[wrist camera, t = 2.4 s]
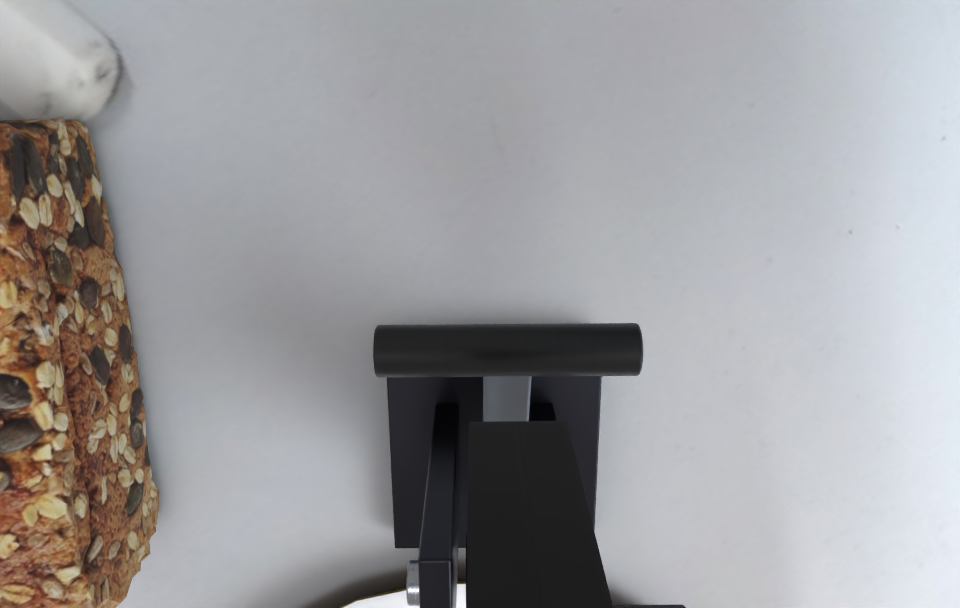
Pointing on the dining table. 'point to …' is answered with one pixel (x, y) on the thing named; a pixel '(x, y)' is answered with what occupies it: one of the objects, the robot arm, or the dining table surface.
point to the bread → (66, 382)
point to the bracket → (464, 465)
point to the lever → (507, 357)
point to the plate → (399, 599)
